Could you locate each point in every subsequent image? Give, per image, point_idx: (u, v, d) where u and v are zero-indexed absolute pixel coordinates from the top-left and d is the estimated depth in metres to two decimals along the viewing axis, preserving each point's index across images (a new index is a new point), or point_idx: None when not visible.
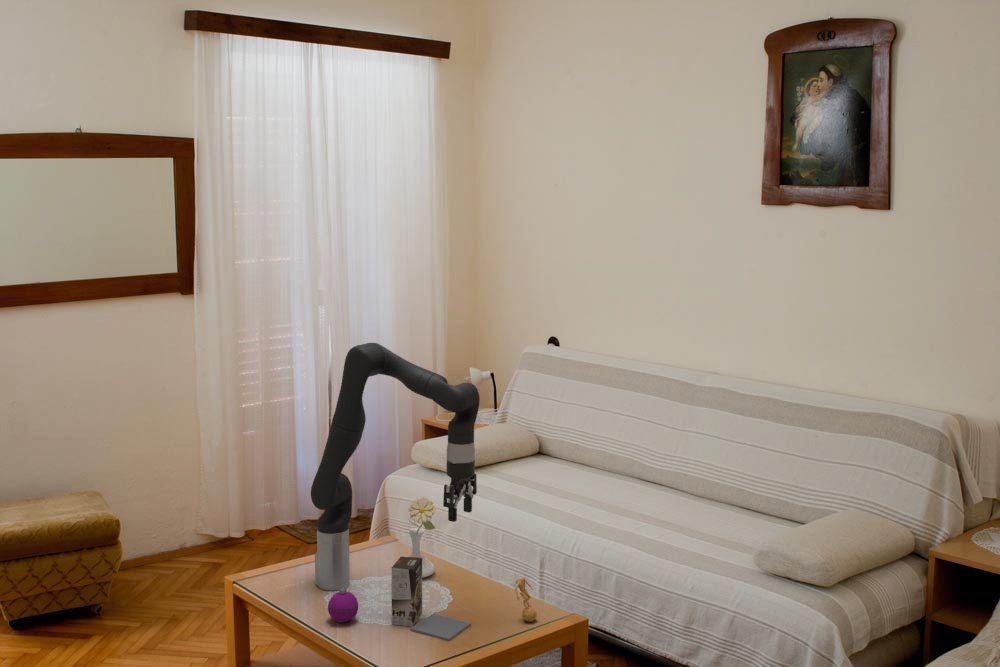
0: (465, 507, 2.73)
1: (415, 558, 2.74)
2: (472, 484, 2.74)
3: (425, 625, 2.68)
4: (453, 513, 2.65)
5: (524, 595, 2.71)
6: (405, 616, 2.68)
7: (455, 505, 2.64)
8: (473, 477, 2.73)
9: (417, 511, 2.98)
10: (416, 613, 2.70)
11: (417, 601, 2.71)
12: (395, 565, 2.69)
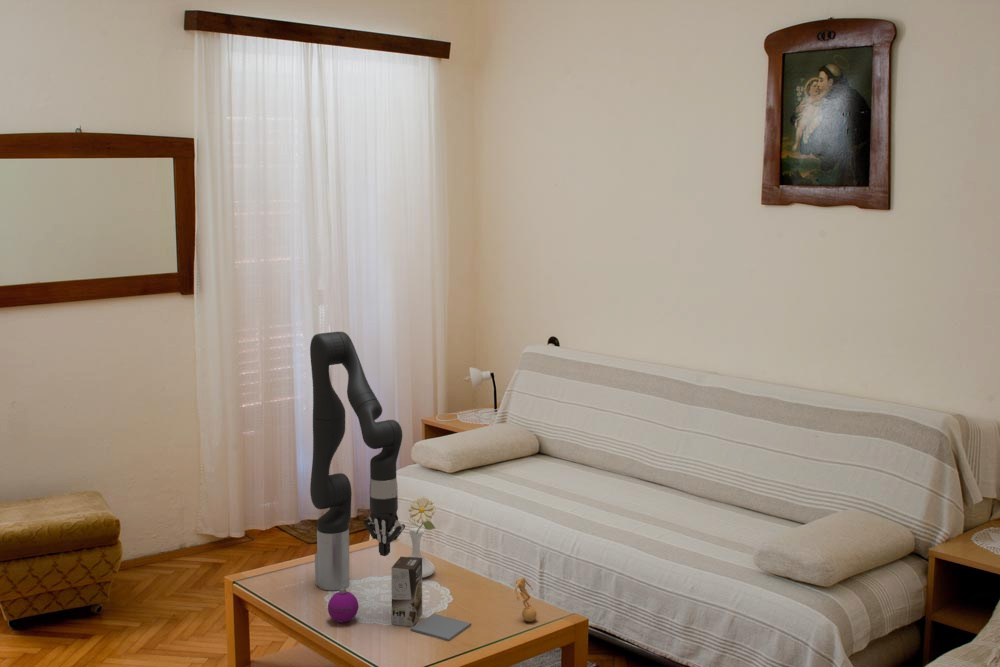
0: None
1: (415, 558, 2.74)
2: (374, 526, 2.76)
3: (425, 625, 2.68)
4: None
5: (524, 595, 2.71)
6: (405, 616, 2.68)
7: None
8: None
9: (417, 511, 2.98)
10: (416, 613, 2.70)
11: (417, 601, 2.71)
12: (395, 565, 2.69)
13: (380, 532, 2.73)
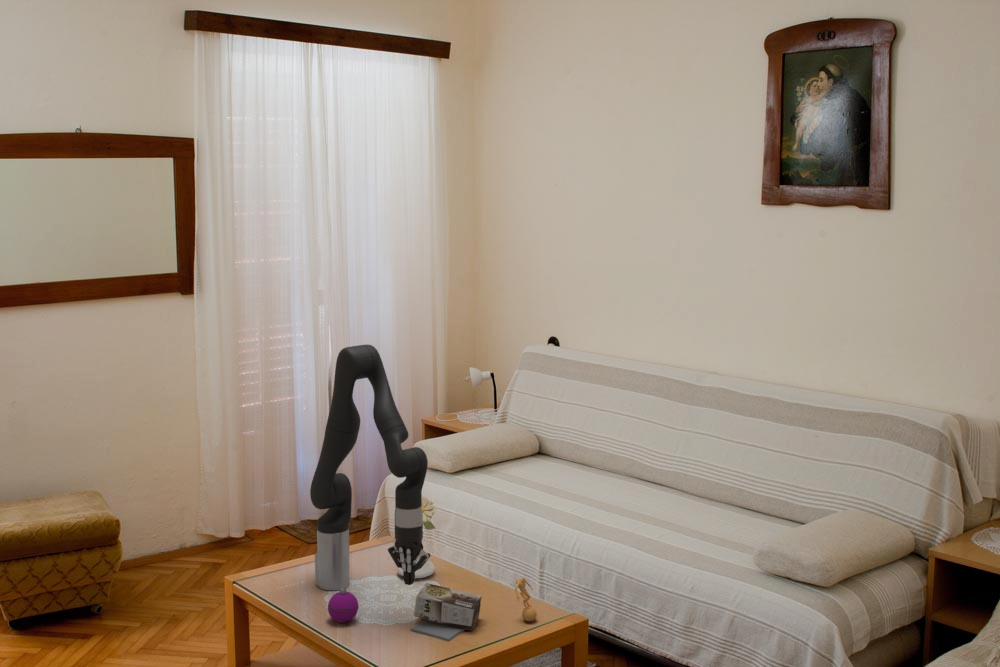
0: None
1: (478, 612, 2.72)
2: (399, 554, 2.72)
3: (425, 625, 2.68)
4: None
5: (524, 595, 2.71)
6: (424, 611, 2.67)
7: None
8: None
9: None
10: None
11: None
12: (475, 609, 2.65)
13: (405, 561, 2.69)
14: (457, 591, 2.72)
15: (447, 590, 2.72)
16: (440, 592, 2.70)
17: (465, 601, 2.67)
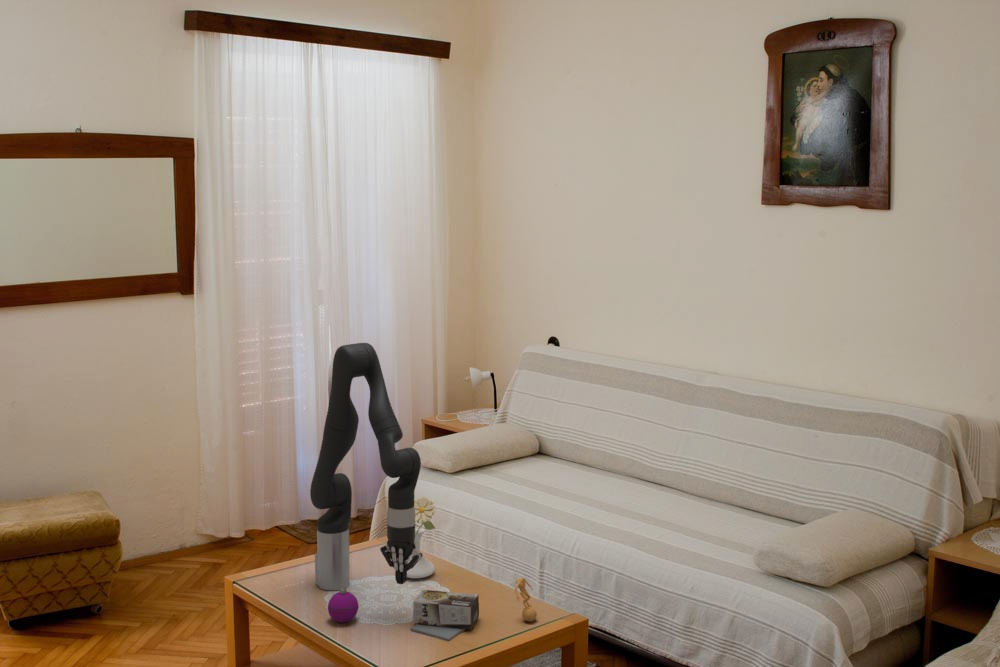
0: None
1: (478, 611, 2.72)
2: (391, 554, 2.74)
3: (425, 625, 2.68)
4: None
5: (524, 595, 2.71)
6: (422, 616, 2.67)
7: None
8: None
9: (417, 511, 2.98)
10: None
11: None
12: (472, 607, 2.66)
13: (397, 560, 2.71)
14: (454, 593, 2.73)
15: (444, 593, 2.73)
16: (436, 596, 2.71)
17: (461, 601, 2.68)
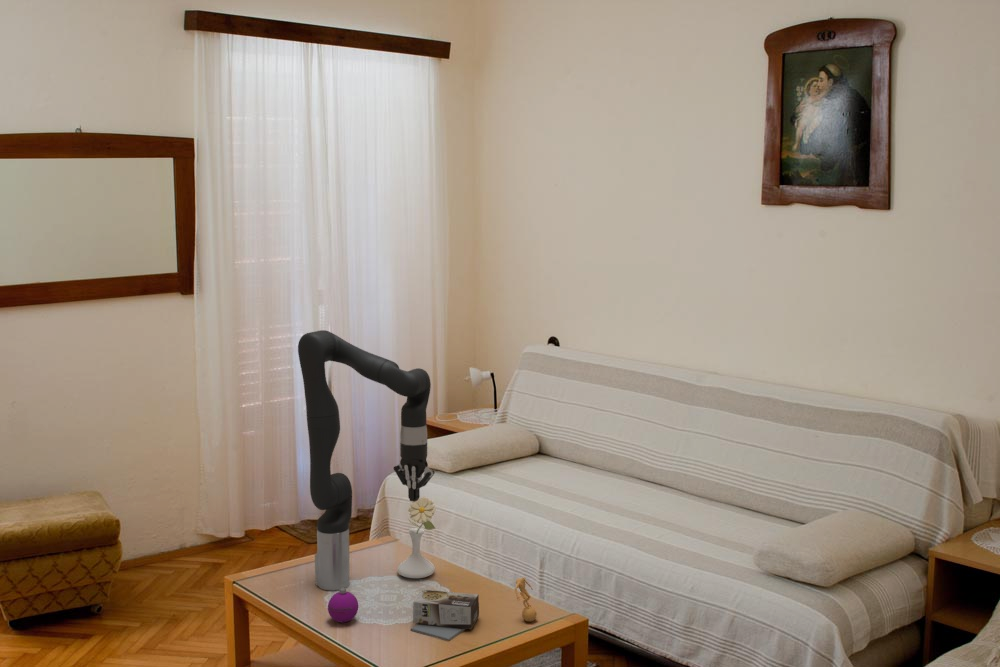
0: None
1: (478, 611, 2.72)
2: (404, 473, 2.83)
3: (425, 625, 2.68)
4: None
5: (524, 595, 2.71)
6: (422, 616, 2.67)
7: None
8: None
9: (417, 511, 2.98)
10: None
11: None
12: (472, 607, 2.66)
13: (410, 478, 2.80)
14: (454, 593, 2.73)
15: (444, 593, 2.73)
16: (436, 596, 2.71)
17: (461, 601, 2.68)
